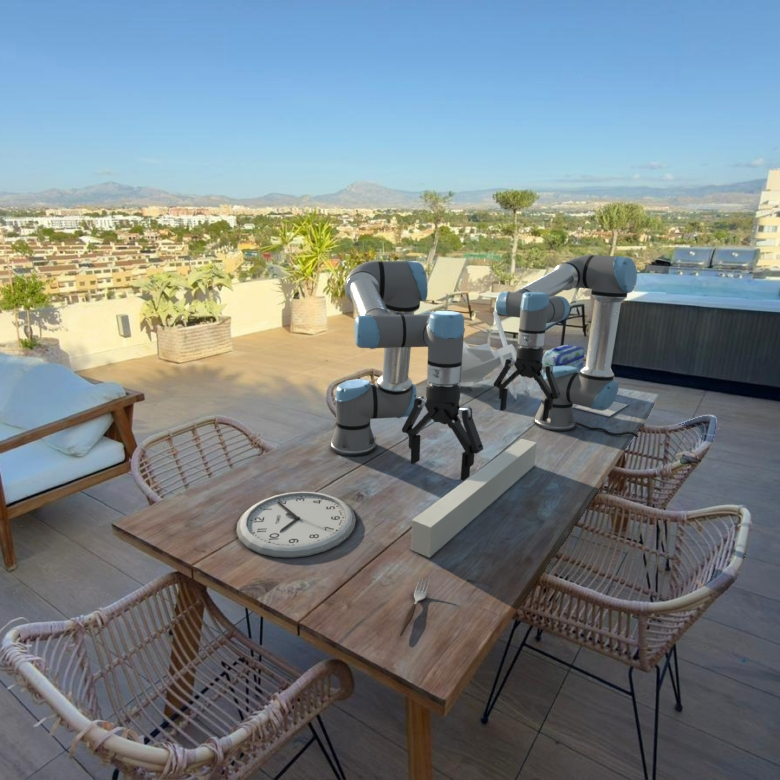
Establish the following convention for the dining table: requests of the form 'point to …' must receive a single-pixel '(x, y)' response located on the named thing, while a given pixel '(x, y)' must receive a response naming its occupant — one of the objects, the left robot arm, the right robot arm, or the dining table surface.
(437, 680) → the dining table surface
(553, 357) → the lunch box
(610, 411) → the invitation card
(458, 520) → the beam
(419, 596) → the fork
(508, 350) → the white plastic object
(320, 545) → the wall clock
